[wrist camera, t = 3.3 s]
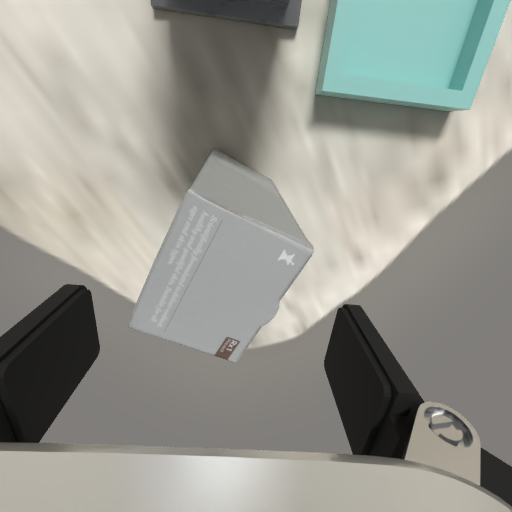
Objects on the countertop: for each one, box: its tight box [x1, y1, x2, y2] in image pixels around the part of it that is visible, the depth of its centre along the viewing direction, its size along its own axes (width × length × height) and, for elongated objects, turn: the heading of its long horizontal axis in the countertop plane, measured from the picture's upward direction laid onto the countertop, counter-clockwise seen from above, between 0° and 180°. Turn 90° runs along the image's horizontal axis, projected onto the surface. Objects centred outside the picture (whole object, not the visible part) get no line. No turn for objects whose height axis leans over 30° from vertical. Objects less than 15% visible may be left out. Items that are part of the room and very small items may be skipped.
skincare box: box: [128, 149, 313, 362], centre depth 20 cm, size 8×7×16 cm
